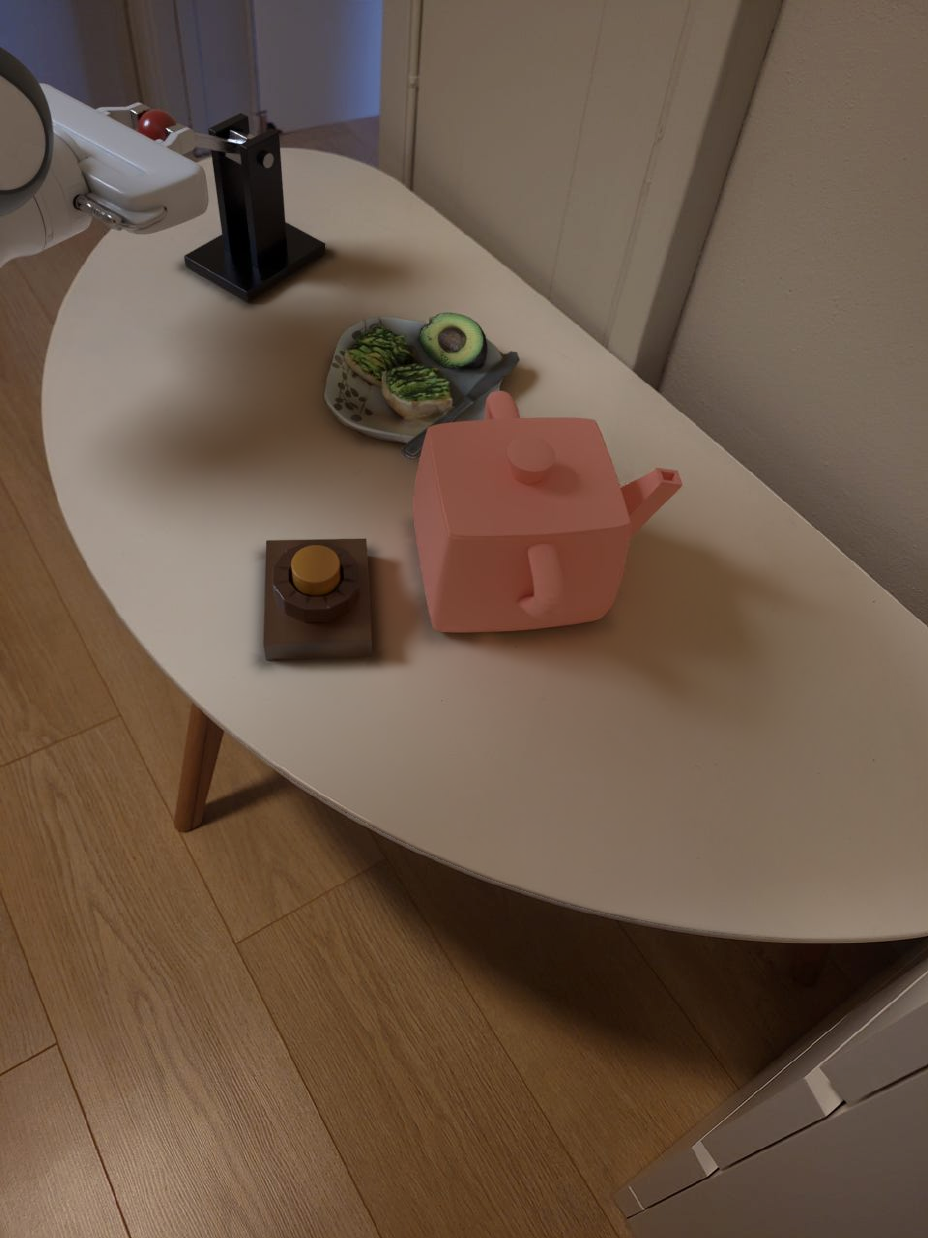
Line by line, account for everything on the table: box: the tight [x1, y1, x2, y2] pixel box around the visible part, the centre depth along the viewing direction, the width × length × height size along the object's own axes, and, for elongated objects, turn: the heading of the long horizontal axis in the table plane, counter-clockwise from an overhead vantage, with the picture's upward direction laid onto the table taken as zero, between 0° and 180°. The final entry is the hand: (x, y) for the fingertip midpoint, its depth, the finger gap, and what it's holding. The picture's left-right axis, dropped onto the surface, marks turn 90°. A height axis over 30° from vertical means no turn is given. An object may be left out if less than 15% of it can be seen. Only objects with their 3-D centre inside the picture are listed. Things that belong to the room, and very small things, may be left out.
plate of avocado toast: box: [323, 312, 521, 460], centre depth 85 cm, size 19×18×5 cm
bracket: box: [183, 112, 326, 304], centre depth 92 cm, size 12×9×14 cm
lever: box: [137, 108, 256, 164], centre depth 83 cm, size 14×4×4 cm, turn 144°
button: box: [291, 545, 340, 596], centre depth 69 cm, size 4×4×2 cm
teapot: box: [412, 390, 684, 633], centre depth 71 cm, size 20×22×14 cm
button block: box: [262, 538, 373, 661], centre depth 71 cm, size 8×10×4 cm
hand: (168, 124), depth 79 cm, fingers closed on lever, 3 cm apart
